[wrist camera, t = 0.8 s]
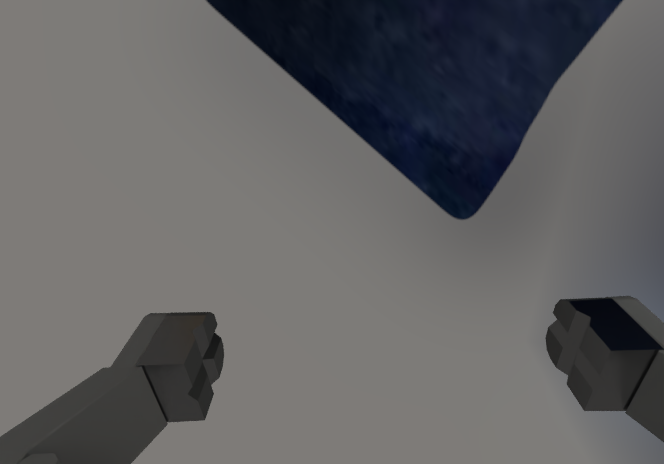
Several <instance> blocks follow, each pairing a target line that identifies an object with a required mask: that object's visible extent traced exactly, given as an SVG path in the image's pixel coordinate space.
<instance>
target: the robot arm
mask: <svg viewBox="0 0 664 464" xmlns="http://www.w3.org/2000/svg"><path fill="white" fill-rule="evenodd" d="M553 314H554V315H555V316H556V318H557V320H556V321H555V322H554V323H553V324H552V325H550V326H549V327H548V331H547V335H546V345H547V351H548V353H549V356H550V359H551V360H552V362H553V363H554V365H555V367H556V368H558V369H559V370H561V371H562V372H564V373H565V374H567V375H568V380H567V385H568V387H569V388H570V390H571V391H572V393H573V394H574V396H575V397H576V399H577V400H578V402H579V404H580V405H581V406H582V408H583V410H584V411H626V412H625V413H626V414H627V415H629V416H630V417H631V418H633V419H634V420H635V421H637V422H638V423H639V424H641V425H642V426H643V427H645V428H646V429H647V430H648V431H650V432H651V433H652V434H654V435H655V436H656V437H658V438H659V439H660V440H662V441H663V442H664V323H663V322H662V321H661V320H660V319H659V318H658V317H657V316H655V315H654V314H653V313H652V312H651V311H650V310H649V309H648V308H647V307H645V306H644V305H643V304H642V303H641V302H640V301H639V300H638V299H636V298H633V297H631V296H618V297H605V298H584V299H561V300H559V302H558V303H557V304H556V305H555V308H554V311H553ZM216 327H217V322H216V319H215V316H214V314H212V313H211V312H196V313H195V312H190V313H150V314H148V315H147V316H145V317H144V318H143V320H142V321H141V323H140V324H139V326H138V327H137V329H136V330H135V331H134V333H133V335H132V336H131V338H130V339H129V340H128V342H127V343H126V345H125V346H124V348H123V349H122V351H121V352H120V354H119V355H118V357H117V358H116V360H115V361H114V363H113V365H112V366H111V367H109V368H102V369H101V370H99V371H98V372H96V373H95V374H93V375H92V376H90V377H89V378H88V379H86V380H85V381H83V382H82V383H80V384H79V385H77V386H76V387H74V388H73V389H71V390H70V391H68V392H67V393H65V394H64V395H62V396H61V397H59V398H58V399H56V400H55V401H53V402H52V403H50V404H49V405H47V406H46V407H44V408H43V409H41V410H40V411H38V412H37V413H35V414H34V415H32V416H31V417H29V418H28V419H26V420H25V421H23V422H22V423H20V424H19V425H17V426H16V427H14V428H13V429H11V430H10V431H8V432H7V433H5V434H4V435H2V436H1V437H0V464H131V463H132V462H133V461H134V460H135V459H136V457H138V455H139V454H140V453H141V452H142V451H143V450H144V449H145V448H146V447H147V446H148V445H149V444H150V443H151V442H152V441H153V439H154V438H155V437H156V436H157V435H158V434H159V433H160V432H161V431H162V430H163V429H164V427H166V426H167V422H180V421H199V420H205V418H206V415H207V412H208V409H209V406H210V403H211V400H212V398H213V394H214V393H213V390H212V387H211V384H213V382H215V381H216V380H217V379H218V378H219V377H220V373H221V370H222V367H223V358H224V349H223V343H222V339H221V337H219V336H218V335H217V334H216V333H214V332H215V329H216Z"/></svg>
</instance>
